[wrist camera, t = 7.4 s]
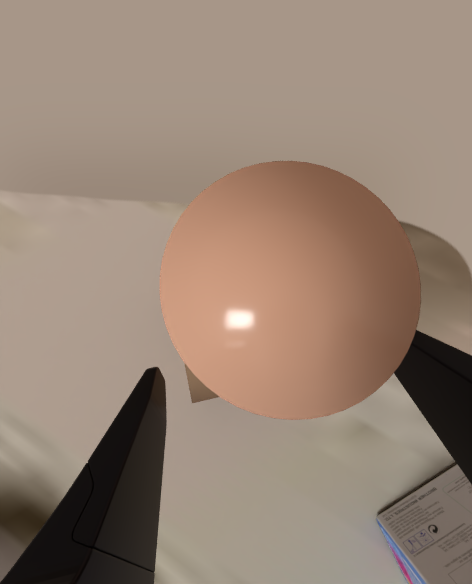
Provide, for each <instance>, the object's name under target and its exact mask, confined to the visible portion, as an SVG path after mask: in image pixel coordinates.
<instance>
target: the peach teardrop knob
mask: <svg viewBox="0 0 472 584" xmlns="http://www.w3.org/2000/svg"><path fill="white" fill-rule="evenodd" d="M160 299H161V307H162V313H163V317H164V320H165V324H166V328H167V330H168V333H169V335H170V337H171V340H172V342H173V344H174V346H175V348H176V350H177V351H178V353H179V355H180V356H181V358H182V360H183V361H184V362H185V364H186V365H187V366H188V368H189V369H190V370H191V371H192V373H193V374H194V375H195V376H196V377H197V378H198V379H199V380H200V381H201V382H202V383H203V384H204V385H205V386H206V387H207V388H209V389H210V390H211V391H213V392H214V393H215V394H217V395H218V396H219V397H221V398H222V399H224V400H226V401H228V402H230V403H231V404H233V405H235V406H237V407H239V408H242V409H244V410H247V411H249V412H252V413H254V414H258V415H262V416H267V417H271V418H278V419H289V420H298V419H312V418H318V417H323V416H328V415H331V414H334V413H337V412H340V411H343V410H346V409H347V408H349V407H351V406H353V405H355V404H357V403H359V402H361V401H363V400H364V399H365V398H367V397H368V396H370V395H371V394H373V393H374V392H375V391H376V390H378V389H379V388H380V387H381V386H382V385H383V384H384V383H385V382H386V381H387V380H388V379H389V378H390V377H391V375H392V374H393V373H394V372H395V370H396V369H397V368H398V367H399V365H400V364H401V362H402V360H403V358H404V357H405V355H406V353H407V352H408V350H409V347H410V345H411V342H412V340H413V337H414V335H415V331H416V327H417V324H418V320H419V313H420V305H421V284H420V277H419V270H418V265H417V262H416V258H415V255H414V251H413V249H412V247H411V244H410V242H409V239H408V237H407V235H406V234H405V232H404V230H403V228H402V226H401V225H400V223H399V222H398V220H397V219H396V218H395V216H394V215H393V214H392V212H391V211H390V209H389V208H388V207H387V206H386V205H385V204H384V203H383V202H382V201H381V200H380V199H379V198H378V197H377V196H376V195H374V194H373V193H372V192H371V191H370V190H368V189H367V188H366V187H364V186H363V185H361V184H360V183H358V182H357V181H355V180H354V179H352V178H350V177H348V176H346V175H344V174H342V173H340V172H338V171H335V170H332V169H330V168H327V167H324V166H320V165H316V164H311V163H307V162H297V161H273V162H266V163H259V164H256V165H252V166H249V167H245V168H242V169H240V170H237V171H235V172H233V173H230V174H228V175H226V176H224V177H223V178H221V179H219V180H217V181H216V182H214V183H213V184H212V185H210V186H209V187H208V188H207V189H205V190H204V191H202V193H200V194H199V195H198V196H197V197H196V198H195V199H194V200H193V201H192V202H191V203H190V205H189V206H188V207H187V208H186V210H185V211H184V212H183V213H182V215H181V216H180V218H179V220H178V221H177V223H176V225H175V226H174V228H173V230H172V233H171V235H170V237H169V239H168V242H167V244H166V248H165V252H164V255H163V259H162V265H161V272H160Z"/></svg>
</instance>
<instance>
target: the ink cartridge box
mask: <svg viewBox="0 0 472 584" xmlns="http://www.w3.org/2000/svg"><path fill="white" fill-rule="evenodd" d="M376 519H377V522H378V524H379V526H380V528H381V530H382V532H383V534H384V536H385V538H386V540H387V542H388V544H389V546H390V548H391V550H392V552H393V555H394V557H395V559H396V561H397V563H398V565H399V567H400V569H401V571H402V573H403V575H404V577H405V579H406V581H407V583H408V584H472V485H471V483H470V482H469V480H468V479H467V477H466V476H465V475H464V473H463V472H462V470H461V469H460V467H459V466H458V464H457V465H455V466H453V467H452V468H450V469H449V470H447V471H446V472H444V473H443V474H441V475H440V476H438V477H437V478H435V479H434V480H432V481H430V482H429V483H427V484H426V485H424V486H423V487H421V488H420V489H418V490H416V491H415V492H413V493H412V494H410V495H409V496H407V497H405V498H404V499H402V500H401V501H399V502H398V503H396V504H395V505H393V506H392V507H390V508H389V509H387V510H386V511H384V512H382V513H381V514H379V515H378V516H377V518H376Z"/></svg>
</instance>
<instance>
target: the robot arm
mask: <svg viewBox="0 0 472 584" xmlns="http://www.w3.org/2000/svg"><path fill="white" fill-rule="evenodd" d="M394 374H395V375H396V377H397V378H398V380H399V381H400V382H401V384H402V385H403V387H404V388H405V390H406V391H407V393H408V394H409V395H410V397H411V398H412V400H413V401H414V403H415V404H416V405H417V407H418V408H419V410H420V411H421V413H422V414H423V416H424V417H425V418H426V420H427V421H428V423H429V424H430V426H431V427H432V429H433V430H434V431H435V433H436V434H437V436H438V437H439V439H440V440H441V441H442V443H443V444H444V446H445V447H446V449H447V450H448V452H449V453H450V454H451V456H452V457H453V459H454V460H455V462H456V463H457V464H458V466H459V467H460V469H461V470H462V472H463V473H464V475H465V476H466V477H467V479H468V480H469V482H470V483H471V485H472V356H471V355H469V354H467V353H465V352H463V351H460V350H458V349H456V348H454V347H452V346H450V345H448V344H445V343H443V342H441V341H439V340H437V339H435V338H433V337H430V336H428V335H426V334H424V333H422V332H420V331H417V330H416V331H415V335H414V337H413V340H412V342H411V345H410V347H409V350H408V352H407V353H406V355H405V357H404V358H403V360H402V362H401V364H400V365H399V367H398V368H397V369H396V370H395V372H394ZM165 437H166V389H165V380H164V377H163V375H162V373H161V371H160V369H159V368H158V367H153V368H148V369H147V370H146V371H145V372H144V374H143V376H142V377H141V379H140V380H139V382H138V383H137V385H136V387H135V388H134V390H133V391H132V393H131V394H130V396H129V397H128V399H127V401H126V402H125V404H124V405H123V407H122V408H121V410H120V412H119V413H118V415H117V416H116V418H115V419H114V421H113V422H112V424H111V426H110V427H109V429H108V430H107V432H106V433H105V435H104V437H103V438H102V440H101V441H100V443H99V444H98V446H97V447H96V449H95V451H94V452H93V454H92V455H91V457H90V458H89V460H88V463H86V465H85V466H84V468H83V469H82V471H81V472H80V474H79V475H78V477H77V478H76V480H75V481H74V483H73V484H72V486H71V487H70V489H69V490H68V492H67V494H66V495H65V496H64V498H63V499H62V501H61V502H60V503H59V505H58V506H57V508H56V509H55V510H54V512H53V513H52V515H51V516H50V517H49V519H48V520H47V521H46V523H45V524H44V525H43V527H42V528H41V529H40V531H39V532H38V533H37V535H36V536H35V538H34V539H33V540H32V542H31V543H30V544H29V546H28V547H27V548H26V550H25V551H24V552H23V554H22V555H21V556H20V558H19V559H18V560H17V562H16V563H15V565H14V566H13V567H12V568H11V570H10V571H9V572H8V574H7V575H6V576H5V577H4V579H3V580H2V581H1V582H0V584H154V571H155V561H156V548H157V536H158V523H159V511H160V499H161V486H162V474H163V461H164V449H165Z"/></svg>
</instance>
